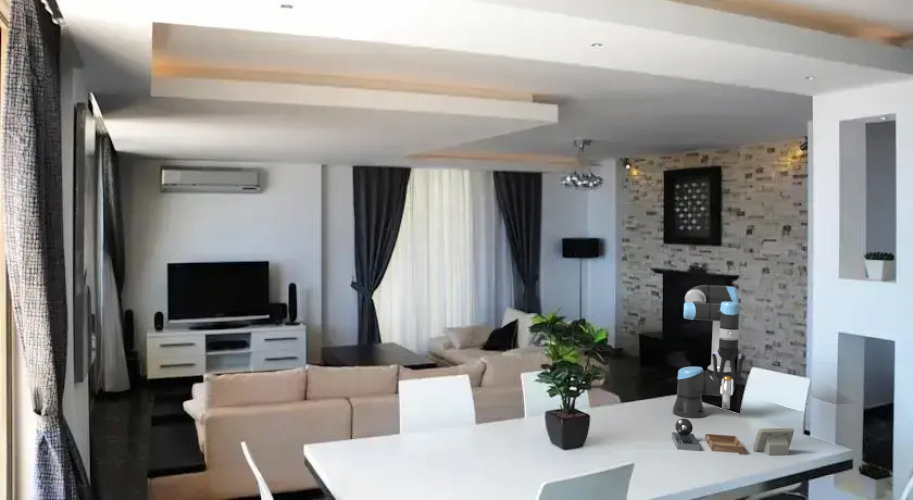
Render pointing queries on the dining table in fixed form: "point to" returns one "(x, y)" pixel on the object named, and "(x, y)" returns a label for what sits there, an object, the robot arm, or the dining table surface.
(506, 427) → the dining table surface
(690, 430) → the tensioner block
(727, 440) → the walnut tray
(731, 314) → the robot arm
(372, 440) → the dining table surface
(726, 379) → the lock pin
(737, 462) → the dining table surface
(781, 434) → the digital clock
